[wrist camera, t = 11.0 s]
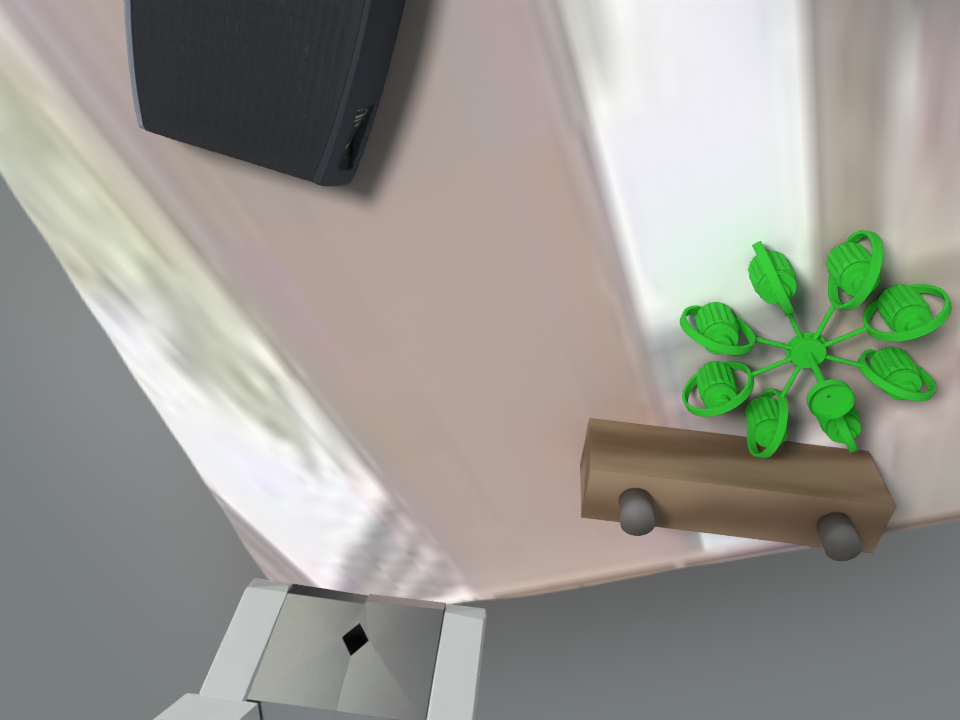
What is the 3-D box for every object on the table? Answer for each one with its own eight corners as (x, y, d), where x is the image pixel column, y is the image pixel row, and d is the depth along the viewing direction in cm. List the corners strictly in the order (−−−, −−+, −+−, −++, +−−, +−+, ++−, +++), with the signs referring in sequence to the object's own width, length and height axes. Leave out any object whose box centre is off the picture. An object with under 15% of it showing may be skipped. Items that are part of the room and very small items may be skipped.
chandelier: (891, 164, 40) (946, 217, 34) (966, 375, 46) (1023, 449, 40) (626, 289, 45) (635, 353, 39) (726, 462, 52) (746, 539, 46)
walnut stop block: (589, 418, 50) (592, 492, 44) (869, 451, 50) (909, 531, 44) (580, 464, 52) (581, 541, 47) (847, 497, 52) (883, 578, 46)
